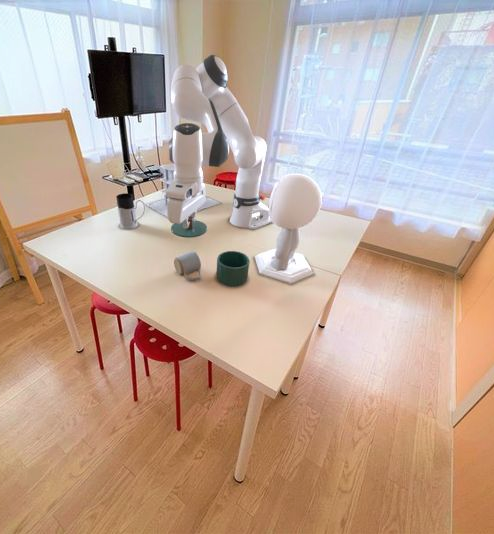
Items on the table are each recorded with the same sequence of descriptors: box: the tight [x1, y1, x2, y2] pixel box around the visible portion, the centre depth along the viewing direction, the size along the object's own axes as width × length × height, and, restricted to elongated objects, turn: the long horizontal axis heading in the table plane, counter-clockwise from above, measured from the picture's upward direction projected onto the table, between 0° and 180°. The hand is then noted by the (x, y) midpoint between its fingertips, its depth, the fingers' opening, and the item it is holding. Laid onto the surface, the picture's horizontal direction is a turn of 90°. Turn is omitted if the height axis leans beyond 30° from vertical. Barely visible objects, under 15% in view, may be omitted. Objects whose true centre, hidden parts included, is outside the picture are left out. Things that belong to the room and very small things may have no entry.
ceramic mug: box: [173, 250, 202, 282], centre depth 100 cm, size 11×8×8 cm
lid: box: [170, 216, 208, 239], centre depth 91 cm, size 12×12×5 cm
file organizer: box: [146, 163, 220, 218], centre depth 152 cm, size 26×35×22 cm
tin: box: [215, 250, 251, 288], centre depth 98 cm, size 11×11×8 cm
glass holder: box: [116, 192, 146, 230], centre depth 131 cm, size 9×14×15 cm, turn 74°
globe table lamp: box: [254, 172, 323, 285], centre depth 96 cm, size 20×23×35 cm
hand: (188, 225), depth 91 cm, fingers closed on lid, 2 cm apart
